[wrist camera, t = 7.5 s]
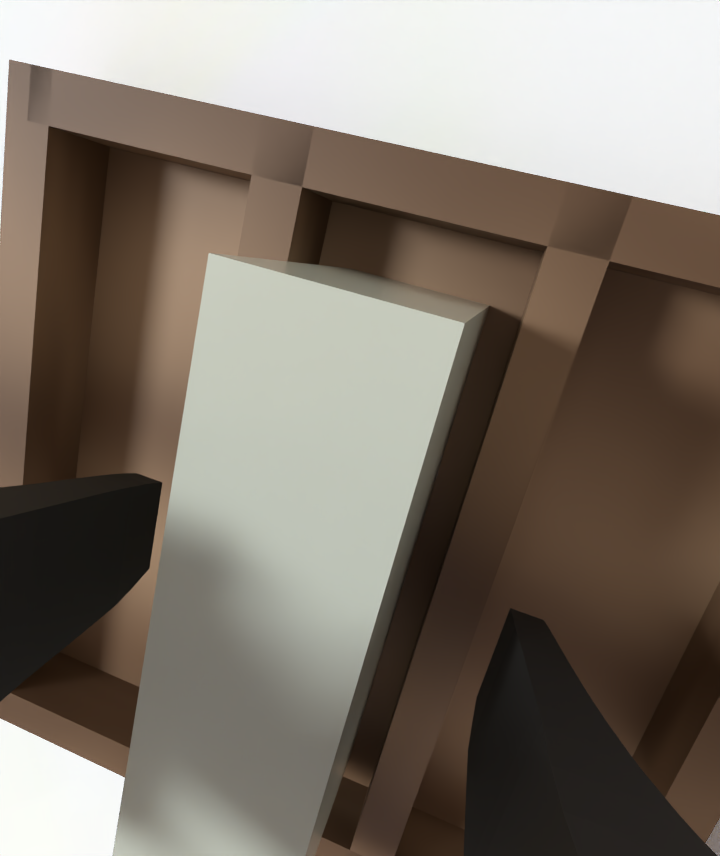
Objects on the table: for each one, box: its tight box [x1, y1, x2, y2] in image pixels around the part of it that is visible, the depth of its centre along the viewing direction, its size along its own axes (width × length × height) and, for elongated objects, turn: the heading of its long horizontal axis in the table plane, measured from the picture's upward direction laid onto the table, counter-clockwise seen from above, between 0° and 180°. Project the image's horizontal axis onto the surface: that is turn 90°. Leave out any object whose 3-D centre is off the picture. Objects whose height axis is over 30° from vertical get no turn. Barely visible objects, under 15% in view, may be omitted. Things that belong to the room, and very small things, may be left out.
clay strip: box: [113, 253, 490, 856], centre depth 11 cm, size 12×3×6 cm, turn 166°
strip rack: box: [0, 60, 720, 856], centre depth 13 cm, size 16×17×2 cm
